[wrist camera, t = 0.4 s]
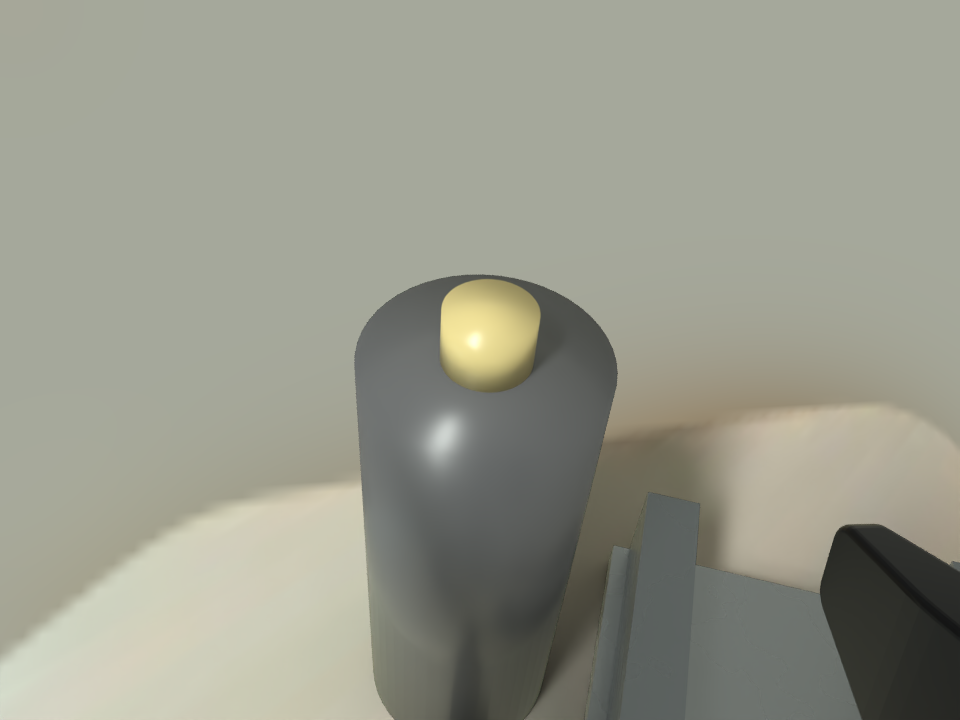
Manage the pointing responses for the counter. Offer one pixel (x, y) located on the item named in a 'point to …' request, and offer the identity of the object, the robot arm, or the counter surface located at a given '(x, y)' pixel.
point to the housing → (707, 636)
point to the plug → (474, 486)
